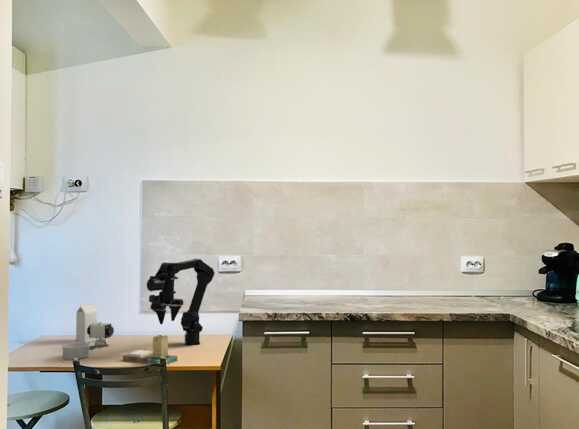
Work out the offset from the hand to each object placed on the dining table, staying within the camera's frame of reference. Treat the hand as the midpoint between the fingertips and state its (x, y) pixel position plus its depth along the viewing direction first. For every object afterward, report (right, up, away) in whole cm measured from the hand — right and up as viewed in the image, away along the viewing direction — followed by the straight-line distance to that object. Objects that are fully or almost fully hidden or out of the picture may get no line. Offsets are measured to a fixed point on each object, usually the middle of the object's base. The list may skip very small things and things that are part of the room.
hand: (167, 322), depth 228 cm
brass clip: (+2, -13, -20) cm, 24 cm away
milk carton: (-45, -14, +18) cm, 51 cm away
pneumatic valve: (-34, -13, +7) cm, 37 cm away
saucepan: (-33, -13, -12) cm, 38 cm away
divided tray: (-3, -13, -18) cm, 22 cm away
